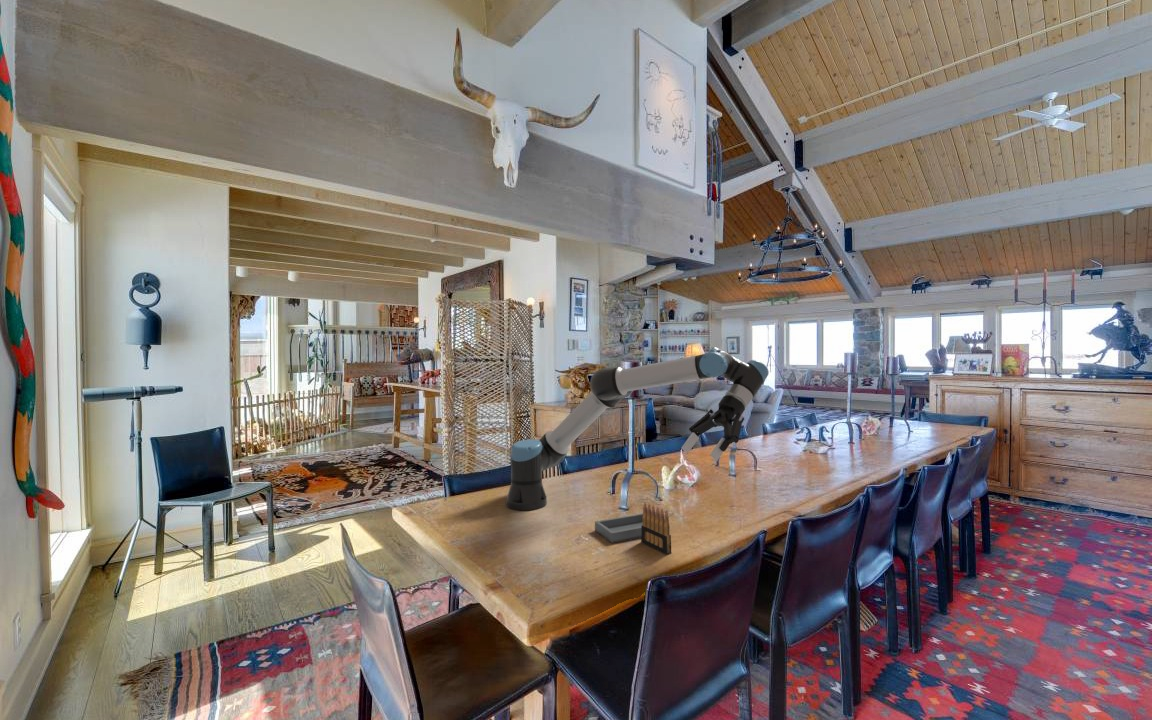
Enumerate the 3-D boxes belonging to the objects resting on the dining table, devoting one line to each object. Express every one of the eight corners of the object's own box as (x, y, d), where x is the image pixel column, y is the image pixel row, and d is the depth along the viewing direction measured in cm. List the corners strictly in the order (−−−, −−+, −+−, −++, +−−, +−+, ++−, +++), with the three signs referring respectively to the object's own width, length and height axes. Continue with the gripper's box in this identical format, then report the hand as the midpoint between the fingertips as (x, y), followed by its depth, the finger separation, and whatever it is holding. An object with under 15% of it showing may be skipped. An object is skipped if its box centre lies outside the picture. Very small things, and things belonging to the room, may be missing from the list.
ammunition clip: (640, 542, 136) (640, 502, 136) (645, 540, 137) (645, 500, 137) (666, 555, 127) (666, 511, 127) (671, 553, 128) (671, 510, 128)
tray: (594, 530, 145) (594, 521, 145) (648, 521, 154) (647, 512, 154) (611, 543, 135) (611, 533, 135) (667, 532, 144) (667, 522, 144)
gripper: (772, 413, 135) (734, 470, 128) (715, 407, 157) (680, 455, 151) (758, 395, 133) (719, 453, 126) (702, 392, 155) (666, 440, 149)
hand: (698, 454), depth 139 cm, fingers open, 13 cm apart
